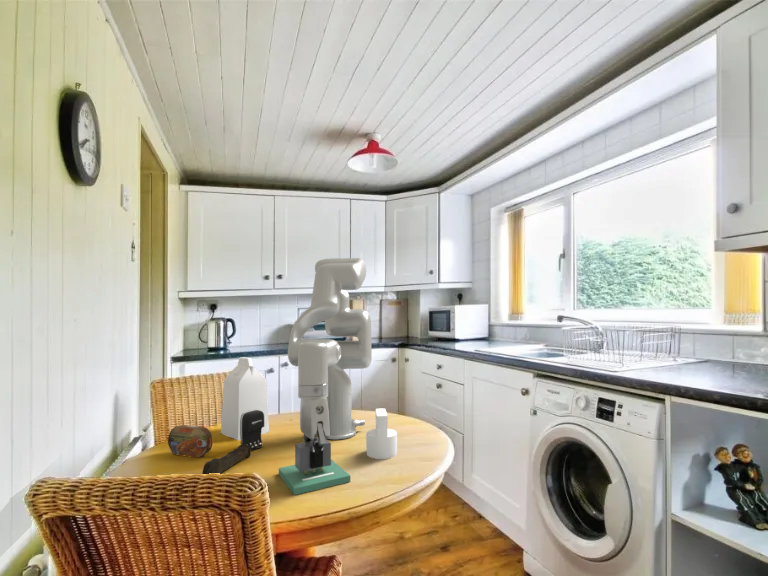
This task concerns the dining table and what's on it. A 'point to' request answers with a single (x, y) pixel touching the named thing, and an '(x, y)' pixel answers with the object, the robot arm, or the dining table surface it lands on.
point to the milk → (243, 397)
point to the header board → (313, 477)
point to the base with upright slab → (381, 438)
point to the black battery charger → (251, 428)
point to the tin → (190, 440)
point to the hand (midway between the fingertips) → (313, 463)
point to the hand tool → (227, 460)
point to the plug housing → (304, 455)
